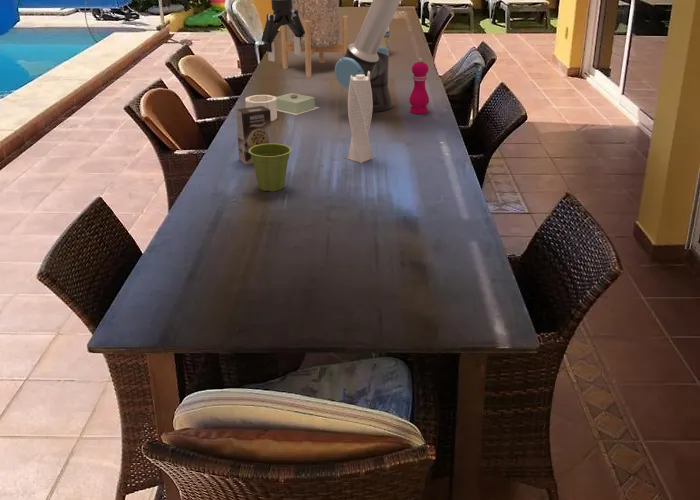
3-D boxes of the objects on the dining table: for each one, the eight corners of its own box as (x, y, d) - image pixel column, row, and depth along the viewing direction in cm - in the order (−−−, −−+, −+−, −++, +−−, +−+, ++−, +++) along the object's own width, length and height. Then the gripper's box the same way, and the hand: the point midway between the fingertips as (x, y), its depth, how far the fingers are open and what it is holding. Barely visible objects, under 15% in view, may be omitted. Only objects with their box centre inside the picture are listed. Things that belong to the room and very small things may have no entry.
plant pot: (276, 198, 216) (274, 159, 211) (242, 190, 222) (239, 151, 217) (301, 185, 225) (299, 147, 220) (268, 177, 231) (266, 140, 226)
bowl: (283, 118, 287) (282, 98, 283) (261, 125, 279) (260, 104, 276) (262, 113, 293) (261, 93, 290) (240, 119, 285) (239, 99, 282)
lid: (315, 108, 298) (314, 95, 296) (296, 113, 291) (296, 100, 289) (291, 102, 305) (291, 90, 302) (273, 108, 298) (273, 95, 296)
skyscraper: (379, 159, 245) (380, 69, 233) (362, 166, 240) (362, 74, 228) (359, 153, 251) (359, 65, 239) (342, 160, 245) (341, 70, 233)
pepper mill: (427, 115, 289) (429, 60, 281) (407, 114, 291) (409, 59, 282) (429, 109, 296) (431, 56, 287) (410, 108, 297) (411, 55, 288)
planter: (350, 70, 356) (348, -4, 342) (307, 78, 345) (304, 1, 330) (323, 62, 373) (320, -10, 359) (281, 69, 361) (277, -5, 347)
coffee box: (245, 165, 241) (242, 113, 234) (238, 159, 246) (234, 108, 239) (273, 160, 245) (270, 109, 238) (265, 154, 250) (262, 104, 243)
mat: (319, 108, 298) (319, 107, 298) (296, 116, 289) (296, 115, 289) (292, 102, 306) (292, 101, 306) (269, 109, 297) (268, 108, 297)
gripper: (298, -7, 296) (301, 51, 305) (248, 1, 279) (253, 62, 288) (312, -5, 291) (315, 53, 300) (263, 3, 275) (267, 64, 284)
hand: (285, 57), depth 294 cm, fingers open, 13 cm apart
